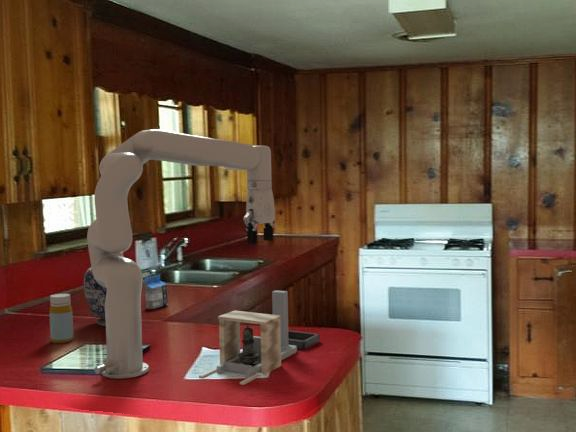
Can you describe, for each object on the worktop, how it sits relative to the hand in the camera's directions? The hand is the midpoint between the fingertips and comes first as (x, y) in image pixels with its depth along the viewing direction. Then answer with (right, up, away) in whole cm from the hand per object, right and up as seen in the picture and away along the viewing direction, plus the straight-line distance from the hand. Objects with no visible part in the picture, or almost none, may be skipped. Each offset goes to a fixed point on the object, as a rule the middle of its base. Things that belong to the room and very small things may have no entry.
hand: (260, 242), depth 210 cm
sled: (0, -33, -15) cm, 37 cm away
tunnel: (-2, -34, -19) cm, 39 cm away
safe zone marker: (-7, -35, -28) cm, 45 cm away
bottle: (-65, -33, +12) cm, 74 cm away
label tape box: (-44, -28, +62) cm, 81 cm away
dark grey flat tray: (+11, -32, +4) cm, 34 cm away
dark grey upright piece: (-3, -34, -20) cm, 40 cm away
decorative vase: (-55, -31, +36) cm, 72 cm away
